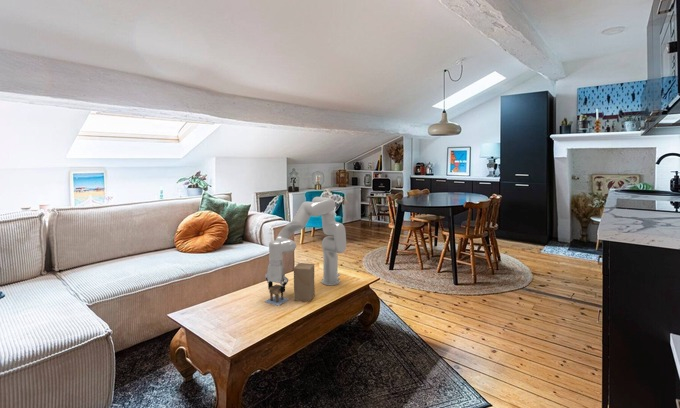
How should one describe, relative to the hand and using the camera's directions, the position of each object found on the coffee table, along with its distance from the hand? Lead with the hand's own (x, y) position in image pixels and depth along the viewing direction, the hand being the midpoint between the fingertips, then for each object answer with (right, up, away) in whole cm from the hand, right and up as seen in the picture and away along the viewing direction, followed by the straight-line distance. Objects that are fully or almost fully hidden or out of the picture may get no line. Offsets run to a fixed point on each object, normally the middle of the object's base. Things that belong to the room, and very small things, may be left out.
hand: (276, 290), depth 203 cm
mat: (0, -6, +1) cm, 6 cm away
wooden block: (+16, -6, +6) cm, 18 cm away
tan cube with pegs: (0, -6, +1) cm, 6 cm away
